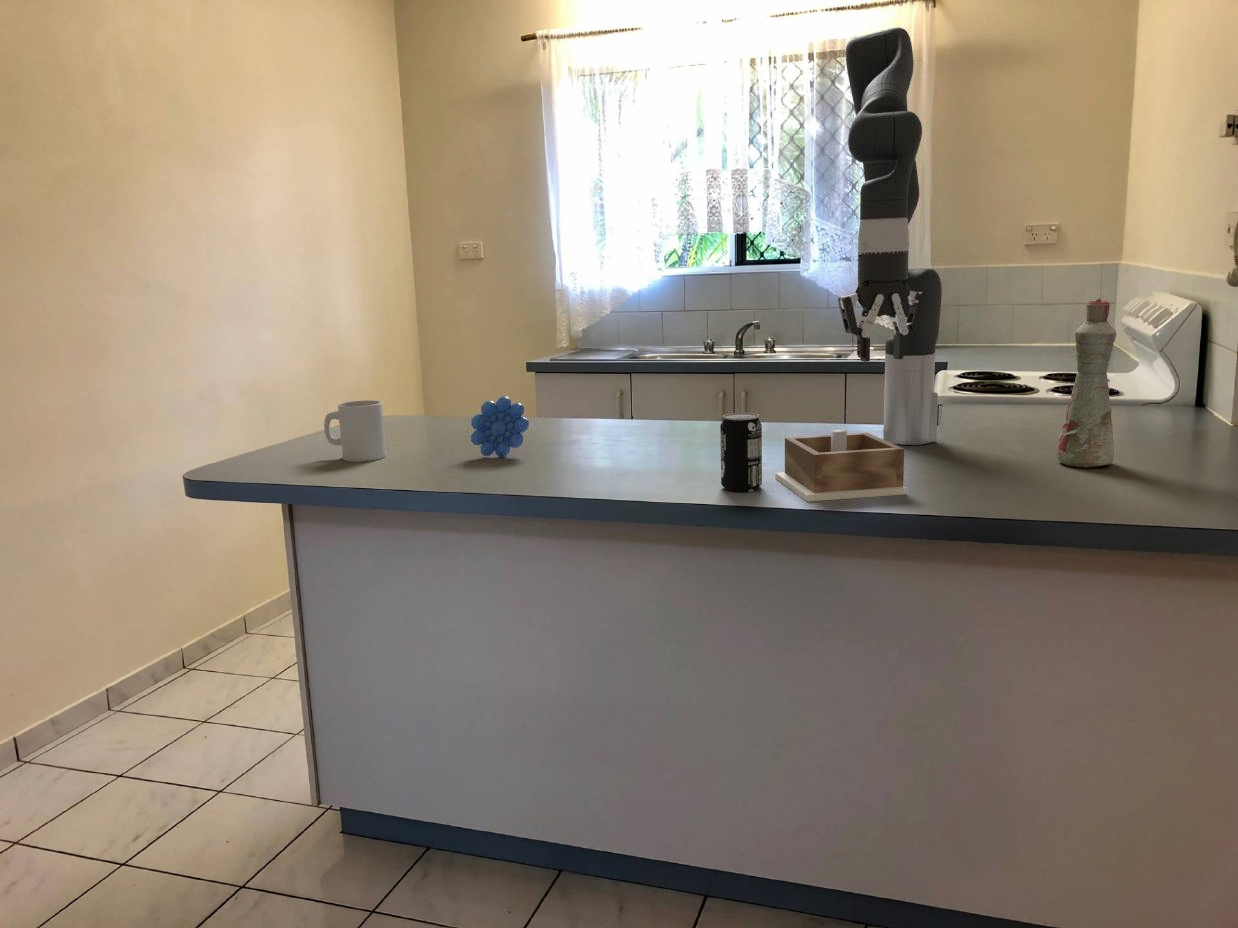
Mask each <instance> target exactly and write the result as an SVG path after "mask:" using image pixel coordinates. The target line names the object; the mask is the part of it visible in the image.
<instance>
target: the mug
mask: <svg viewBox="0 0 1238 928" xmlns="http://www.w3.org/2000/svg"><path fill="white" fill-rule="evenodd" d="M383 414H384V413H383V403H382V401H380V400H356V401H355V400H354V401H353V400H352V401H347V402H341V403H339V404H338V405H337V410H336V411H331V412H329V413H327V414H326V415H325V417H324V422H323V423H324V424H323V426H324V427H323V428H324V429H323V430H324V435H325V438H326V440H327V442H328V443H329V444H330V445H333V446H337V447H338V446H341V453H342V454H341V455H342V459H343V461H345V462H351V463H360V462H361V463H363V462H372V461H377V460H381V459H384V458H385V457H387V448H386V447H387V445H386V435H385V426H384V416H383ZM332 420H337V421H338V422H339V423H338V424H339V431H340V437H335V436H333V435H332V432H331V427H330V426H331V425H330V424H331V421H332Z"/></svg>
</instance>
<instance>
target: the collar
mask: <svg viewBox="0 0 1238 928" xmlns="http://www.w3.org/2000/svg"><path fill="white" fill-rule="evenodd" d="M904 469H905V448H904V447H901V446H899V445H898V444H893V443H890V442H888V441H885V440H883V438H880V437H879V436H877V435H875V434H874V435H873V434H871V433H869V432H856V433H854V432H853V433H847V446H846V451H838V452H831V434H825V435H812V436H811V435H810V436H809V435H808V436H793V437H784V472H785V474H787V475H788V476H790V477H791V478H793V479H794V480H796V481H797V482H799V483H800V484H801V485H803V486H804V487H806V488H807V489H809V490H810V491H812V492H813V493H823V492H836V491H850V490H864V489H878V488H892V487H903V486H904V473H905V470H904Z"/></svg>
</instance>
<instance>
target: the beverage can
mask: <svg viewBox="0 0 1238 928" xmlns="http://www.w3.org/2000/svg"><path fill="white" fill-rule="evenodd" d="M722 418H723V419H722V422H721V423H720V426H719V427H720V432H719V433H720V435H719V436H720V483H721V486H722V487H723V489H724V490H726V491H727V492H733V493H749V492H751V493H752V492H754V491H757V490H759V489H760V487H761V486H762V484H763V448H762V447H763V437H762V436H763V435H762V433H763V429H762V428H763V425H762V422H761V420H760V415H759V414H758V413H755V412H731V413H729V412H728V413H725V414H723V415H722Z"/></svg>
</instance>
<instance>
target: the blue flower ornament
mask: <svg viewBox="0 0 1238 928" xmlns="http://www.w3.org/2000/svg"><path fill="white" fill-rule="evenodd" d="M524 412H525V407H524V405H523V404H522V403H521V402H514V403H512V400H511V399H510V398H509V396H505V395H504V396H500V397H499V398H498V399H497V401H496V403H495V402H494V401H493V400H486V401H485V402H484V403H483V404H482V405H481V407H480V413H477V414H475V415H474V416H473V417H472V418H471V420H470V422H471V423H470V424H471V427H472V429H474V431H473V432H472V433H471V436H470V441H471V443H472V444H473V445H474V446H480V449H479V450H480V451H479V452H480V453H481V454H482V455H483V456H485V457H491V455H493V454H494V453H495V454H496V456H497V457H499V458H504V457H507V456H508V455H509V453H510V451H511V449H512V448H513V449H517V448H519V447H521V446H522V444H523V443H524V435H523V433H524V432H526V431H527V430H528V429H529V424H530V422H529V420H528V418H527V417H525V416H523V414H524Z"/></svg>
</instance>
